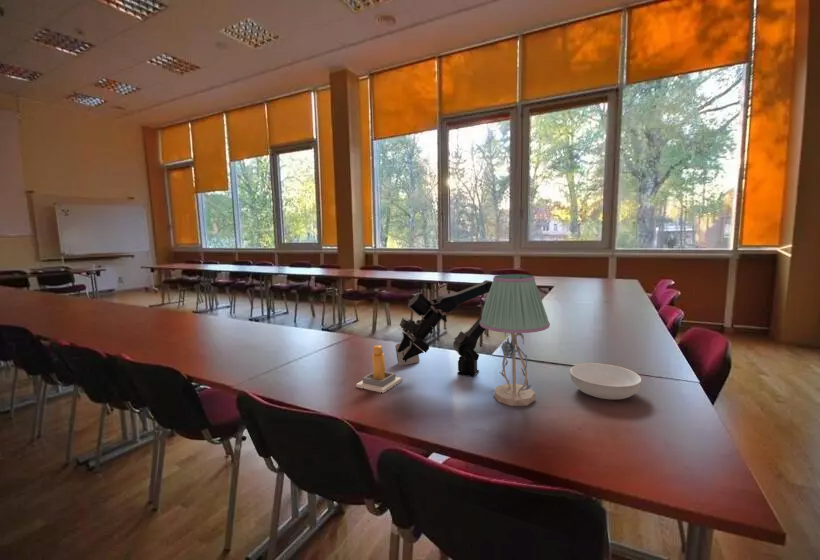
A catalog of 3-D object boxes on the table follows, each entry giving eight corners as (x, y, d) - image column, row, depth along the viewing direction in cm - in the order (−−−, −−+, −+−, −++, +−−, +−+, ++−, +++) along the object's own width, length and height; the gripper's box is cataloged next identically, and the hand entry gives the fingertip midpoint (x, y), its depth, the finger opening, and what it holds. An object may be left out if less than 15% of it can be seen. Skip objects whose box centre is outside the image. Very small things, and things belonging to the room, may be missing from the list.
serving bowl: (641, 413, 114) (642, 390, 113) (565, 400, 124) (565, 379, 123) (640, 387, 132) (640, 367, 131) (573, 377, 142) (573, 359, 141)
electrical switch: (399, 366, 161) (398, 344, 160) (394, 364, 165) (393, 342, 165) (420, 362, 165) (418, 341, 164) (414, 360, 169) (413, 339, 169)
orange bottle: (387, 381, 143) (386, 346, 141) (377, 384, 140) (375, 349, 138) (381, 377, 146) (379, 344, 144) (371, 380, 143) (369, 346, 142)
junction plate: (402, 380, 145) (401, 372, 145) (383, 393, 135) (383, 384, 135) (376, 375, 151) (375, 367, 151) (356, 387, 141) (356, 378, 141)
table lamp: (468, 391, 133) (466, 275, 128) (520, 380, 141) (520, 271, 136) (506, 418, 113) (505, 283, 108) (564, 404, 121) (566, 276, 116)
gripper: (406, 305, 151) (380, 335, 151) (418, 315, 133) (389, 350, 133) (426, 322, 154) (401, 352, 154) (441, 335, 136) (412, 369, 136)
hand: (400, 355), depth 144 cm, fingers open, 9 cm apart
